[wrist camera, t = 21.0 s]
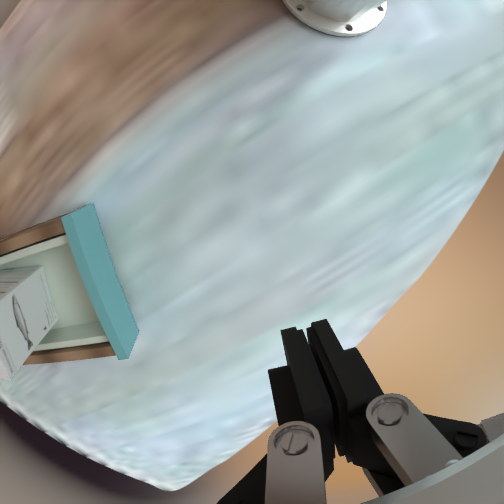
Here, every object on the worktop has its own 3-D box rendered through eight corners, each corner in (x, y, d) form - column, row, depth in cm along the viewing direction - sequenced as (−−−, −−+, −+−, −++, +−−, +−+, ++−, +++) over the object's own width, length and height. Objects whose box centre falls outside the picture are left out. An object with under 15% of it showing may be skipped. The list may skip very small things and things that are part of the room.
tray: (93, 202, 30) (70, 213, 25) (139, 331, 35) (128, 358, 30) (-18, 245, 30) (-43, 259, 25) (27, 347, 35) (10, 369, 30)
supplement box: (60, 320, 33) (12, 384, 21) (18, 318, 32) (-33, 374, 20) (45, 263, 30) (-19, 316, 19) (2, 265, 30) (-60, 312, 18)
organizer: (86, 207, 31) (61, 220, 25) (129, 326, 36) (116, 355, 30) (-19, 247, 31) (-45, 262, 25) (23, 342, 36) (4, 365, 30)
